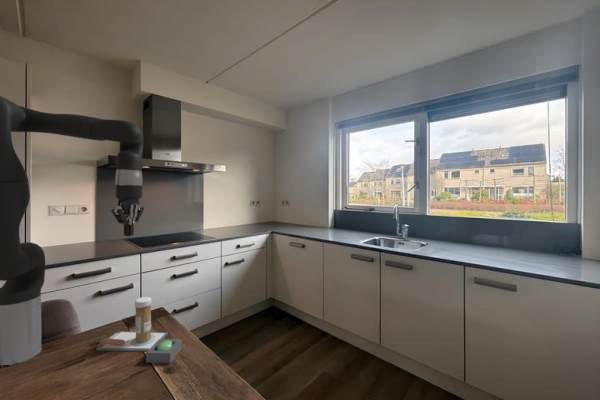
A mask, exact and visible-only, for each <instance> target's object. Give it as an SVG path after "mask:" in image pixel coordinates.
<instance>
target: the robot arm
mask: <svg viewBox="0 0 600 400" xmlns="http://www.w3.org/2000/svg"><path fill="white" fill-rule="evenodd" d="M12 133H40V134H41V133H44V134H52V135H59V136H65V137H72V138H78V139H84V140H85V139H86V140H92V141H98V142H99V141H100V142H101V141H102V142H103V141H104V142H105V141H110V142H119V152H118V153H117V155H116V164H115V165H116V166H115V167H116V171H115V179H114V180H115V181H114V182H115V185H114V186H115V187H114V190H115V191H114V197H115V198H116V199H118V201H117V206H116V208H112V209H111V213H112V214H113V216H114V218H115V220H116V221H117V222H118V224H121V225H122V226H123V236H124V237H132V236H134V229H135V227H134V226H135V224H136V223H137V222H138V223H139V221H140V218H141V216H142V214H143V212H144V210H145V207H144V206H140V201H139V199H142V198H143V172H142V170H143V168H142V167H143V160H142V159H143V158H142V154H143V150H144V148H143V147H144V134H143V132H142V130H141V129H140V128H139V127H138V125H137V124H134V123H133V122H131V121H126V120H119V119H107V118H106V119H103V118H99V117H93V116H89V115H81V114H77V113H75V114H74V113H72V114H71V113H50V112H43V111H39V110H34V109H31V108H28V107H24V106H21V105H18V104H16V103H15V102H13V101H11V100H9V99H7V98H6V97H4V96H1V95H0V281H1V282H2V281H4V282H5V283H4V284H3V285H2V286H1V287H0V365H1V366H0V367H4V366H3V365H9V366H13V365H17V364H20V363H23V362H26V361H28V360H30V359H32V358H34V357H35V356H37V355H39V354H40V353H41V351H42V350H43V349H42V288H43V287H44V284H45V276H46V255H45V252H44V249H43V248H42V247H41V246H40V245H39V244H37V243H35V242H29V241H28V242H21V239H20V225H21V222H22V219H23V218H24V216H25V213H26V211H27V208H28V206H29V203H30V199H31V194H30V191H31V190H30V184H29V183H30V182H29V177H28V175H27V172H26V169H25V167H24V165H23V164H22V162H21V160H20V158H19V156H18V154H17V152H16V150H15V148H14V144H13V140H12Z"/></svg>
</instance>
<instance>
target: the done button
mask: <svg viewBox="0 0 600 400" xmlns="http://www.w3.org/2000/svg"><path fill="white" fill-rule="evenodd" d="M171 347H172V341H163V342H160V343H159V344H158V345H157V350H160V351H168V350H169V349H170V348H171Z"/></svg>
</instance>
